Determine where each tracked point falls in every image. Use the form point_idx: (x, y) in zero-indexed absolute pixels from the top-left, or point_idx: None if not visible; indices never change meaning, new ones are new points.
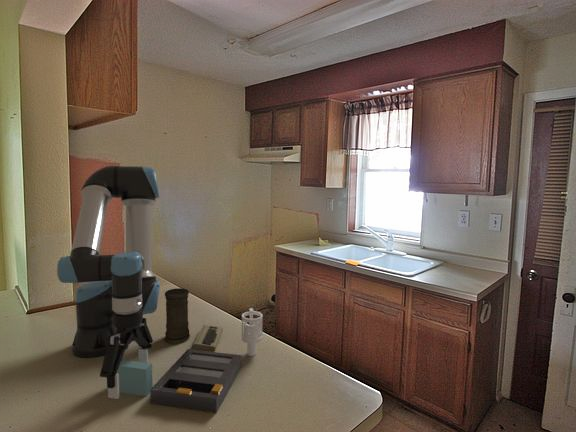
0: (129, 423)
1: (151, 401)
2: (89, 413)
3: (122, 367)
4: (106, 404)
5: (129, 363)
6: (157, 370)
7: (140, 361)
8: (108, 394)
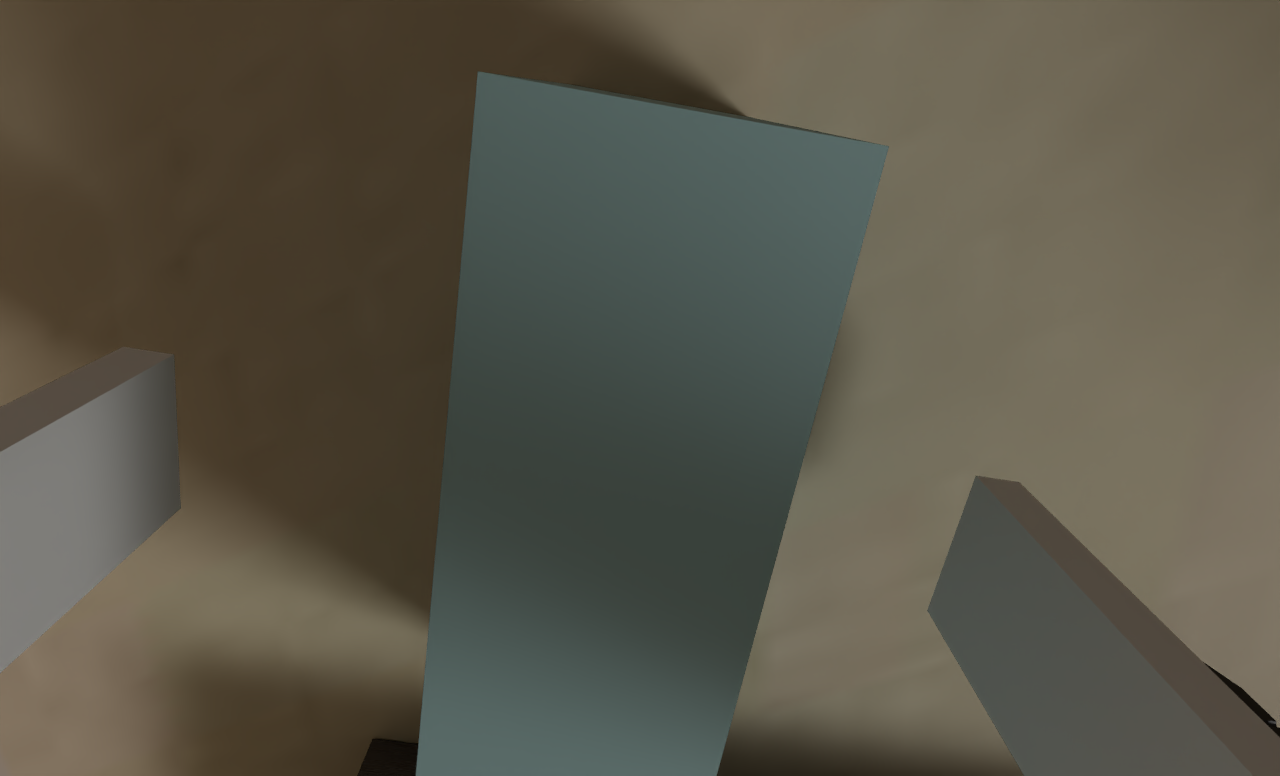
0: (22, 658)
1: (361, 771)
2: (15, 98)
3: (432, 614)
4: (255, 246)
5: (592, 740)
6: None
7: (1046, 612)
8: (89, 370)
